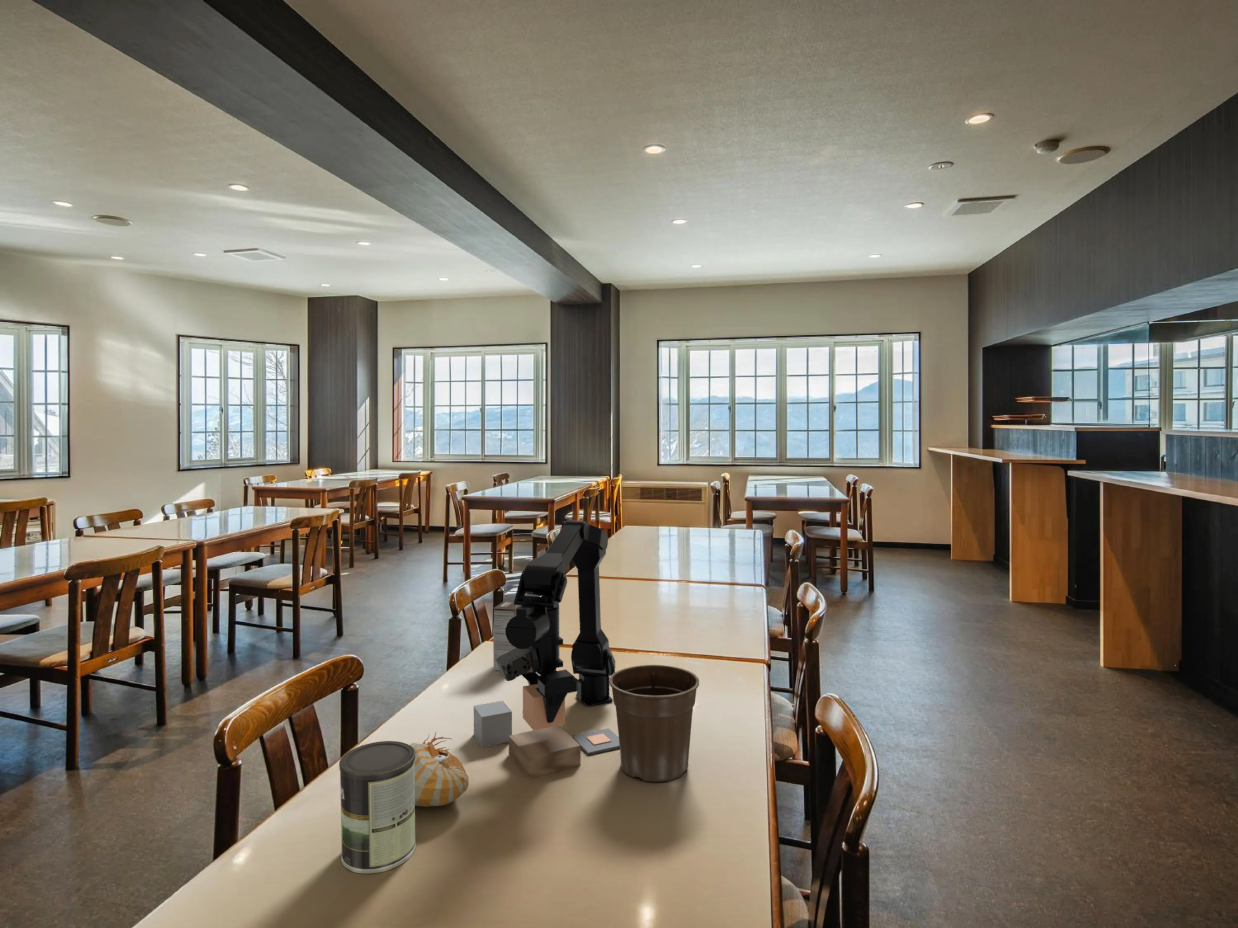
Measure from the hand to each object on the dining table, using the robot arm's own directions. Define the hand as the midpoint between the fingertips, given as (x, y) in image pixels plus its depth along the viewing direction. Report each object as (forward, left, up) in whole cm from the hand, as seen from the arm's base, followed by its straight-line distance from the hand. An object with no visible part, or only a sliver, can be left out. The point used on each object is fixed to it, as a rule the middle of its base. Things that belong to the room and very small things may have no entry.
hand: (544, 715), depth 128 cm
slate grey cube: (+6, -13, -8) cm, 17 cm away
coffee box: (-10, -52, -8) cm, 54 cm away
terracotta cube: (0, 0, -1) cm, 1 cm away
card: (-12, -2, -8) cm, 15 cm away
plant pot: (-17, +11, -8) cm, 22 cm away
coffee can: (+31, +16, -8) cm, 36 cm away
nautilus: (+21, +2, -9) cm, 22 cm away
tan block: (0, 0, -9) cm, 9 cm away
